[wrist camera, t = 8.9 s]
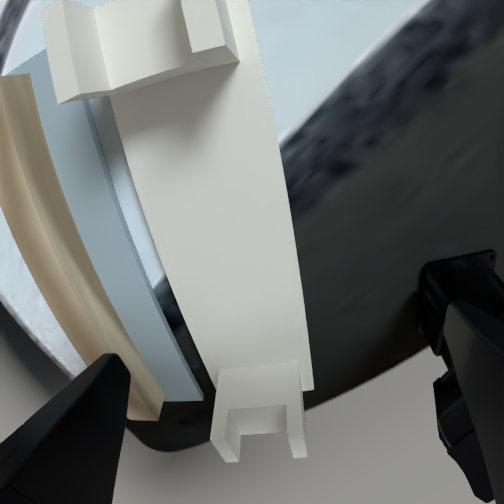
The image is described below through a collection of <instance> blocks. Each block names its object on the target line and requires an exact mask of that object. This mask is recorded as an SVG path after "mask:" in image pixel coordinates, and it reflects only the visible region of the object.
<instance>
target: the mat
mask: <svg viewBox="0 0 504 504" xmlns="http://www.w3.org/2000/svg"><path fill="white" fill-rule="evenodd" d="M27 73H30V76H31V81H32V86H33V91H34V95H35V100H36V104H37V108H38V112H39V116H40V120H41V124H42V127H43V131H44V135H45V138H46V142H47V145H48V148H49V152H50V155H51V158H52V161H53V164H54V167H55V171H56V174H57V176H58V179H59V182H60V185H61V188H62V191H63V194H64V196H65V199H66V202H67V204H68V207H69V210H70V212H71V215H72V217H73V220H74V222H75V225H76V227H77V230H78V232H79V235H80V237H81V239H82V242H83V244H84V246H85V249H86V251H87V253H88V256H89V258H90V260H91V262H92V264H93V267H94V269H95V271H96V273H97V275H98V277H99V279H100V281H101V283H102V286H103V288H104V290H105V292H106V294H107V296H108V298H109V300H110V302H111V304H112V305H113V307H114V309H115V311H116V313H117V315H118V317H119V319H120V321H121V322H122V324H123V326H124V328H125V330H126V332H127V333H128V335H129V337H130V339H131V340H132V342H133V344H134V346H135V347H136V349H137V351H138V353H139V354H140V356H141V358H142V359H143V361H144V363H145V364H146V366H147V368H148V369H149V371H150V372H151V374H152V376H153V377H154V379H155V380H156V382H157V384H158V385H159V387H160V388H161V390H162V391H163V393H164V394H165V396H164V400H163V401H203V398H204V395H203V393H202V391H201V389H200V387H199V385H198V383H197V382H196V380H195V378H194V376H193V374H192V372H191V370H190V368H189V366H188V364H187V362H186V360H185V358H184V356H183V354H182V352H181V350H180V348H179V346H178V344H177V342H176V340H175V338H174V335H173V333H172V331H171V329H170V327H169V325H168V323H167V320H166V318H165V316H164V314H163V312H162V309H161V307H160V305H159V303H158V300H157V298H156V296H155V294H154V291H153V289H152V287H151V284H150V282H149V280H148V277H147V275H146V272H145V270H144V267H143V265H142V263H141V260H140V258H139V255H138V253H137V250H136V247H135V245H134V242H133V240H132V237H131V234H130V232H129V229H128V226H127V224H126V221H125V218H124V215H123V213H122V210H121V207H120V204H119V201H118V198H117V196H116V193H115V190H114V187H113V184H112V181H111V178H110V174H109V171H108V168H107V165H106V162H105V159H104V155H103V152H102V149H101V145H100V142H99V138H98V135H97V131H96V128H95V124H94V121H93V117H92V113H91V109H90V105H89V101H88V99H84V100H78V101H73V102H68V103H63V104H58V103H57V98H56V94H55V90H54V86H53V81H52V76H51V72H50V67H49V61H48V56H47V51H46V49H45V50H43V51H41V52H40V53H38V54H37V55H35V56H33V57H32V58H30V59H29V60H27V61H26V62H24V63H23V64H21V65H20V66H18V67H17V68H15V69H14V70H12V71H11V72H10V73H8V74H7V75H5V76H8V75H17V74H27ZM85 364H86V363H85Z"/></svg>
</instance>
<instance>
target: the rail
mask: <svg viewBox="0 0 504 504" xmlns="http://www.w3.org/2000/svg"><path fill="white" fill-rule="evenodd" d="M0 206H1V208H2V211H3V213H4V216H5V218H6V221H7V223H8V226H9V228H10V230H11V233H12V235H13V237H14V239H15V242H16V244H17V246H18V248H19V250H20V252H21V255H22V257H23V259H24V261H25V263H26V265H27V267H28V269H29V271H30V273H31V275H32V277H33V279H34V281H35V282H36V284H37V286H38V288H39V290H40V292H41V294H42V295H43V297H44V299H45V301H46V302H47V304H48V306H49V308H50V309H51V311H52V313H53V314H54V316H55V318H56V319H57V321H58V323H59V324H60V326H61V327H62V329H63V331H64V332H65V334H66V335H67V337H68V338H69V340H70V342H71V343H72V345H73V346H74V348H75V349H76V351H77V352H78V353H79V355H80V356H81V358H82V359H83V361H84V362H85V363H86V365H87V366H90V365H91V364H92V363H93V362H94V361H95V360H97V359H98V358H99V357H100V356H101V355H102V354H104V353H117V354H118V355H119V356H120V357H121V359H122V360H123V362H124V364H125V365H126V366H127V368H128V369H129V371H130V374H131V384H130V392H129V401H128V410H127V417H128V419H130V420H146V421H158V420H159V416H160V412H161V408H162V404H163V400H164V396H165V394H164V393H163V391H162V390H161V388H160V387H159V385H158V384H157V382H156V380H155V379H154V377H153V376H152V374H151V372H150V371H149V369H148V368H147V366H146V364H145V363H144V361H143V359H142V358H141V356H140V354H139V353H138V351H137V349H136V347H135V346H134V344H133V342H132V340H131V339H130V337H129V335H128V333H127V332H126V330H125V328H124V326H123V324H122V322H121V321H120V319H119V317H118V315H117V313H116V311H115V309H114V307H113V305H112V304H111V302H110V300H109V298H108V296H107V294H106V292H105V290H104V288H103V286H102V283H101V281H100V279H99V277H98V275H97V273H96V271H95V269H94V267H93V264H92V262H91V260H90V258H89V256H88V253H87V251H86V249H85V246H84V244H83V242H82V239H81V237H80V235H79V232H78V230H77V227H76V225H75V222H74V220H73V217H72V215H71V212H70V210H69V207H68V204H67V202H66V199H65V196H64V194H63V191H62V188H61V185H60V182H59V179H58V176H57V174H56V171H55V167H54V164H53V161H52V158H51V155H50V152H49V148H48V145H47V142H46V138H45V135H44V131H43V127H42V124H41V120H40V116H39V112H38V108H37V104H36V100H35V95H34V91H33V86H32V81H31V76H30V73H27V74H17V75H8V76H1V77H0Z"/></svg>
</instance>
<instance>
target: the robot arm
mask: <svg viewBox="0 0 504 504" xmlns="http://www.w3.org/2000/svg"><path fill="white" fill-rule="evenodd" d="M491 255H492V256H491ZM490 256H491V257H490ZM496 258H497V253H496V252H495V251H494V250H493V249H489V250H484V251H480V252H475V253H470V254H466V255H461V256H456V257H451V258H446V259H441V260H436V261H431V262H429V263H428V264H427V265H426V266H425V271H424V280H423V288H422V291H421V293H420V297H419V304H418V311H417V317H416V318H417V321H418V322H417V330H418V332H419V333H421V334H422V333H424V335H425V337H426V339H427V341H428V343H429V345H430V347H431V349H432V351H433V353H434V354H435V355H436V356H442V358H443V360H444V362H445V364H446V366H447V369H448V371H447V372H446V373H445V374H444V375H443V376H442V377H441V378H438V379H437V380H436V381H435V382H434V383H433V388H434V396H435V404H436V414H437V425H438V431H439V438H440V440H441V441H442V442H443V444H444V446H445V447H446V449H447V453H448V454H449V455H450V456H451V457H452V458H453V459H454V460H455V461H456V462H457V464H458V465H459V466H460V468H461V469H462V471H463V472H464V474H465V476H466V478H467V480H468V482H469V484H470V486H471V489H472V491H473V493H474V495H475V496H476V497H477V498H479V499H480V500H482V501H484V502H485V503H489V502H491V501H493V500H494V499H495V502H496V504H504V282H503V281H502V280H501V279H500V278H499V277H498V276H497V275H496V273H495V272H494V268H495V263H496ZM433 267H434V268H433ZM432 268H433V269H432ZM431 269H432V270H431ZM430 270H431V271H430ZM130 384H131V374H130V371H129V369H128V368H127V366H126V365H125V364H124V362H123V360H122V359H121V357H120V356H119V355H118V354H117V353H104V354H102V355H101V356H100V357H99V358H98V359H97V360H95V361H94V362H93V363H92V364H91V365H90V366H88V367H87V368H86V369H85V370H84V371H83V372H81V373H80V374H79V375H78V376H77V377H76V378H75V379H73V380H72V381H71V382H70V383H69V384H68V385H67V386H65V387H64V388H63V389H62V390H61V391H60V392H59V393H57V394H56V395H55V396H54V397H53V398H52V399H51V400H49V401H48V403H46V404H45V405H44V406H43V407H42V408H40V409H39V410H38V411H37V412H36V413H35V414H34V415H33V416H31V417H30V418H29V419H28V420H27V421H26V422H25V423H24V425H21V426H20V427H19V428H18V429H17V430H16V431H15V432H13V433H12V434H11V435H10V436H9V437H8V438H6V439H5V440H4V441H3V442H2V443H0V504H112V500H113V493H114V486H115V481H116V474H117V469H118V463H119V457H120V452H121V447H122V442H123V436H124V431H125V426H126V419H127V410H128V401H129V392H130Z"/></svg>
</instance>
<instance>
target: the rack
mask: <svg viewBox="0 0 504 504" xmlns="http://www.w3.org/2000/svg"><path fill="white" fill-rule="evenodd" d="M41 18H42V25H43V32H44V39H45V45H46V51H47V56H48V61H49V67H50V72H51V76H52V81H53V86H54V90H55V94H56V98H57V103H58V104H63V103H68V102H73V101H78V100H84V99H90V98H96V97H103V96H109V97H110V101H111V105H112V109H113V113H114V116H115V120H116V124H117V128H118V131H119V135H120V138H121V142H122V145H123V149H124V152H125V156H126V159H127V162H128V166H129V169H130V172H131V175H132V178H133V182H134V185H135V188H136V191H137V194H138V197H139V200H140V203H141V206H142V209H143V212H144V215H145V218H146V221H147V224H148V226H149V229H150V232H151V235H152V238H153V241H154V243H155V246H156V249H157V251H158V254H159V257H160V259H161V262H162V265H163V267H164V270H165V273H166V275H167V278H168V280H169V283H170V285H171V288H172V290H173V293H174V295H175V298H176V300H177V303H178V305H179V308H180V310H181V312H182V315H183V317H184V320H185V322H186V324H187V327H188V329H189V331H190V334H191V336H192V338H193V341H194V343H195V345H196V347H197V350H198V352H199V354H200V356H201V358H202V361H203V363H204V365H205V367H206V369H207V371H208V374H209V376H210V378H211V380H212V382H213V384H214V386H215V388H216V390H217V391H216V398H215V406H214V413H213V421H212V428H211V436H210V440H211V442H212V443H213V445H214V446H215V447H216V449H217V450H218V452H219V453H220V455H221V456H222V457H223V459H224V460H225V462H239V456H240V441H241V435H247V434H262V433H274V432H286V431H287V436H288V439H289V443H290V447H291V451H292V454H293V458H303V457H307V443H306V430H305V417H304V405H303V394H302V391H308V390H314V383H313V374H312V365H311V356H310V348H309V339H308V331H307V323H306V316H305V308H304V301H303V293H302V286H301V279H300V272H299V265H298V258H297V252H296V245H295V239H294V232H293V226H292V220H291V213H290V207H289V201H288V195H287V189H286V184H285V178H284V172H283V167H282V161H281V156H280V150H279V145H278V139H277V134H276V129H275V124H274V119H273V113H272V108H271V103H270V98H269V94H268V89H267V84H266V79H265V74H264V70H263V65H262V60H261V56H260V51H259V47H258V42H257V38H256V34H255V29H254V25H253V21H252V17H251V12H250V8H249V4H248V0H110V1H107V2H105V3H103V4H101V5H99V6H97V7H95V8H94V7H91V6H88V5H85V4H82V3H78V2H75V1H72V0H57V1H55V2H54V3H52V4H50V5H49V6H47V7H46V8H44V9H42V10H41Z"/></svg>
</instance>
